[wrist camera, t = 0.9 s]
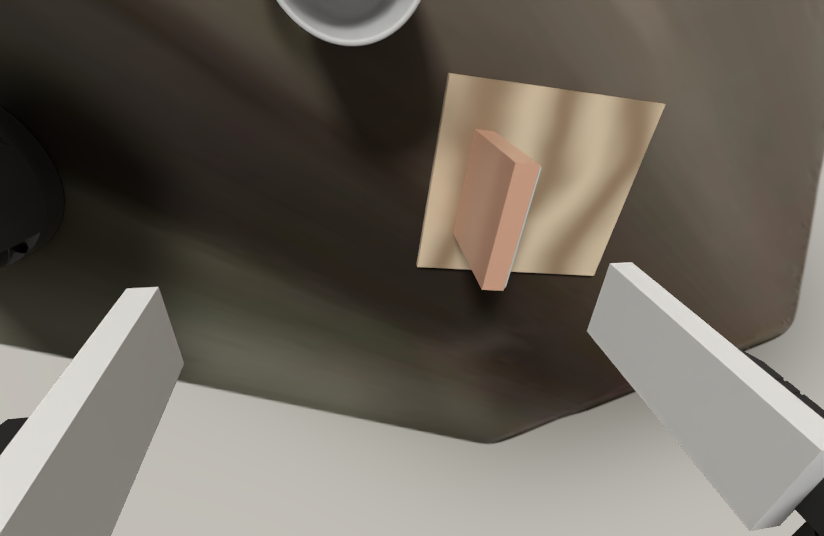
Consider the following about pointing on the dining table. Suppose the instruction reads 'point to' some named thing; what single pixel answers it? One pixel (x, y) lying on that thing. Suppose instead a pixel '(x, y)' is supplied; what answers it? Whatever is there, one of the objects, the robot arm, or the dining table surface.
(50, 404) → the robot arm
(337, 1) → the mug
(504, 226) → the tile
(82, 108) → the dining table surface
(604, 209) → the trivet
